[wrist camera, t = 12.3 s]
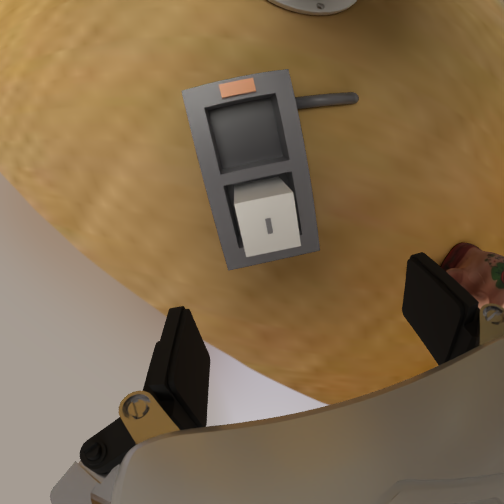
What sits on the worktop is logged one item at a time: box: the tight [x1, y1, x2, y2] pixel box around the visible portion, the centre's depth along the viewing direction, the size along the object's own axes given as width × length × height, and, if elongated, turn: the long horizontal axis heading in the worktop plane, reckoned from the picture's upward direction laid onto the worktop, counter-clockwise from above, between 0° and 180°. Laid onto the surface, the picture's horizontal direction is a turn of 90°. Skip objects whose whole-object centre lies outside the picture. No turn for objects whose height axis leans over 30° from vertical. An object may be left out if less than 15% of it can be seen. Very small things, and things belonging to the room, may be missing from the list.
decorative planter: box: [441, 243, 504, 309], centre depth 27 cm, size 20×12×14 cm, turn 78°
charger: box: [234, 177, 301, 257], centre depth 24 cm, size 4×4×7 cm
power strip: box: [182, 69, 359, 270], centre depth 24 cm, size 17×16×4 cm
